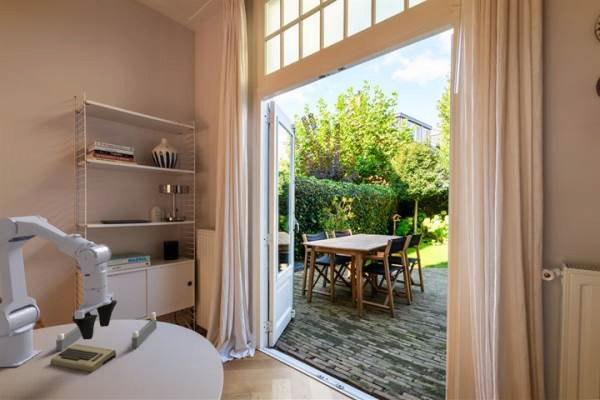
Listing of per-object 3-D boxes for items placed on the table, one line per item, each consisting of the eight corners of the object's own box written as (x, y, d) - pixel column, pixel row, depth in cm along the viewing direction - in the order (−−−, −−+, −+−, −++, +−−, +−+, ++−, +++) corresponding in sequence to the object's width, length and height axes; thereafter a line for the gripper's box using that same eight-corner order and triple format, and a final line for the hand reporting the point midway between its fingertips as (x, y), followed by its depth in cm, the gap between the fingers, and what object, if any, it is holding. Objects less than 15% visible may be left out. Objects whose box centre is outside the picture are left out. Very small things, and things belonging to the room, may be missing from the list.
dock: (56, 351, 91) (56, 332, 91) (87, 329, 105) (86, 314, 105) (137, 348, 92) (136, 330, 92) (156, 327, 106) (156, 312, 106)
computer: (49, 366, 83) (49, 355, 83) (77, 351, 91) (77, 341, 91) (91, 374, 80) (91, 363, 79) (116, 358, 87) (116, 347, 87)
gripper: (93, 295, 76) (94, 344, 77) (123, 278, 91) (124, 320, 91) (65, 295, 76) (67, 345, 76) (100, 279, 90) (101, 321, 91)
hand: (96, 332), depth 84 cm, fingers open, 7 cm apart
